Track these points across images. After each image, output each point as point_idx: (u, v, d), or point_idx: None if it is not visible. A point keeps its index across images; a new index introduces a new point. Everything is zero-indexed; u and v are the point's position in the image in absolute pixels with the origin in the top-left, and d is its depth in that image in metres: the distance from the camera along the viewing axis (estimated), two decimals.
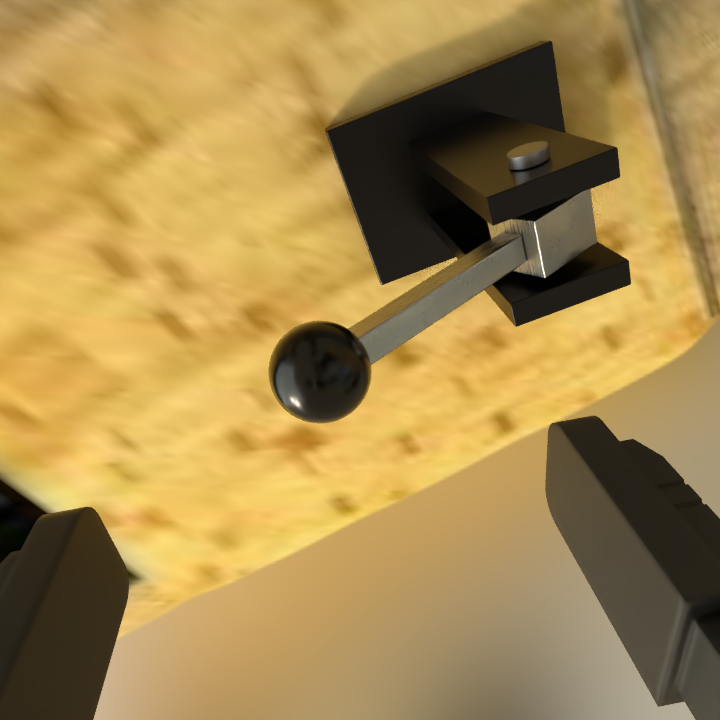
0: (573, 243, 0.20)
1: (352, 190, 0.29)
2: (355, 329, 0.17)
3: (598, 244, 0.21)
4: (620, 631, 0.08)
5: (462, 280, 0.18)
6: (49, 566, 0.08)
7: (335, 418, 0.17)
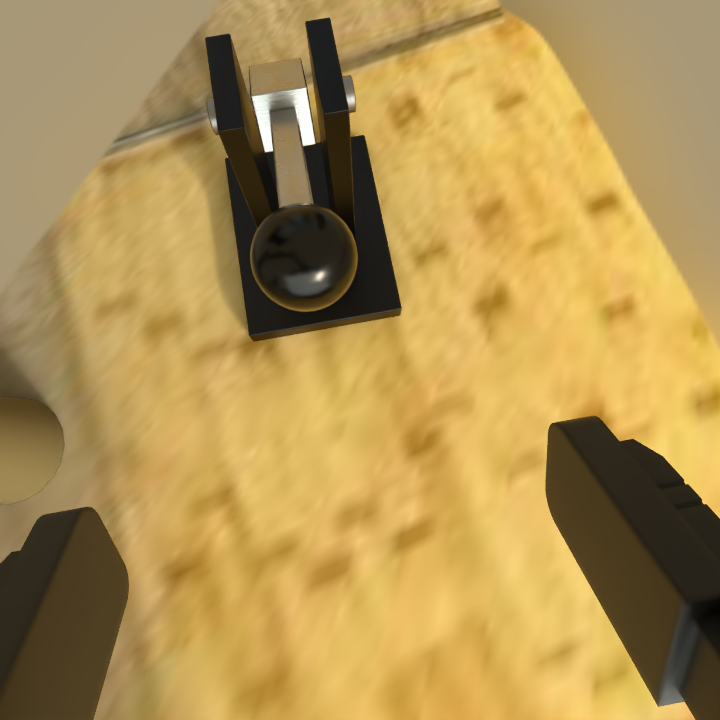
0: (288, 71, 0.22)
1: (303, 322, 0.32)
2: None
3: (310, 61, 0.24)
4: (620, 631, 0.08)
5: (279, 148, 0.20)
6: (49, 566, 0.08)
7: (334, 232, 0.15)
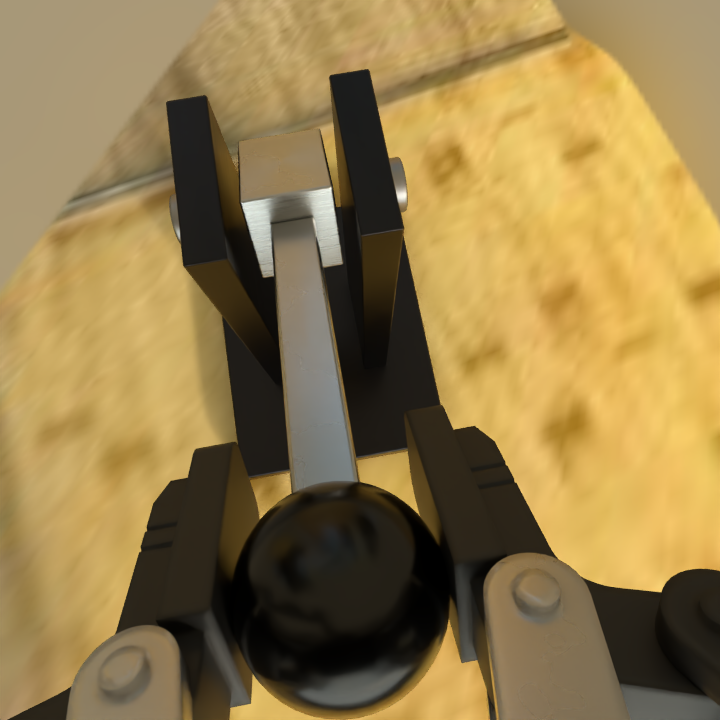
0: (301, 154, 0.14)
1: None
2: None
3: (334, 130, 0.15)
4: None
5: (287, 305, 0.11)
6: (220, 486, 0.09)
7: (413, 590, 0.07)
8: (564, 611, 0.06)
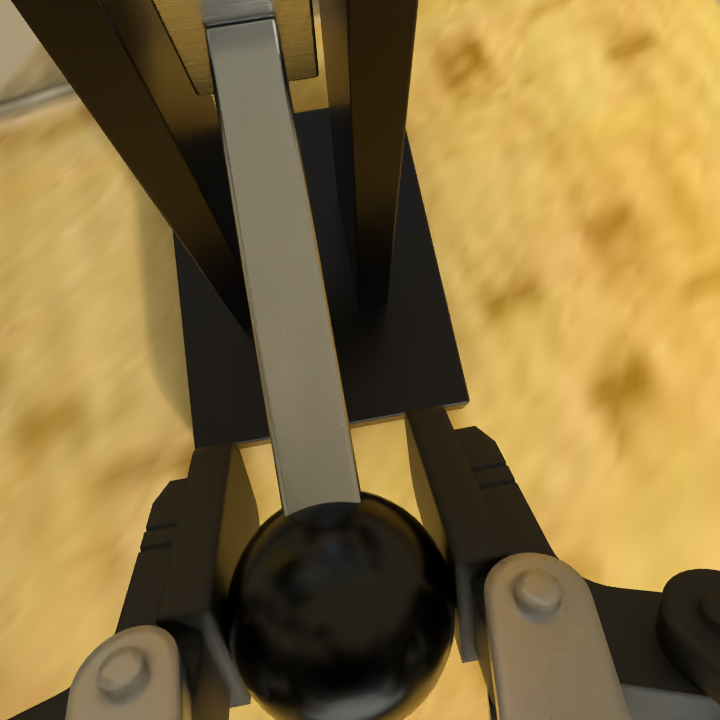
0: None
1: None
2: None
3: None
4: None
5: (250, 213, 0.08)
6: (219, 486, 0.09)
7: (427, 664, 0.07)
8: (565, 611, 0.06)
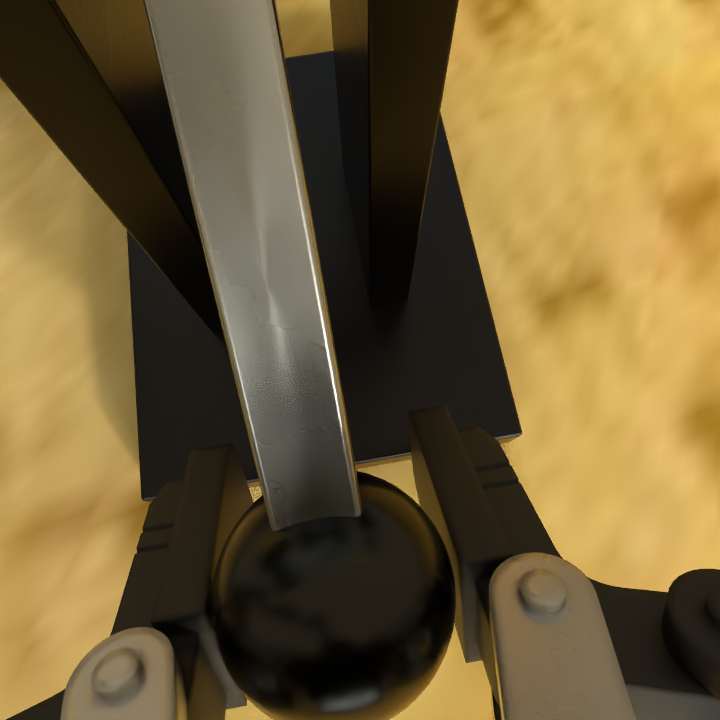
0: None
1: None
2: None
3: None
4: None
5: (202, 141, 0.05)
6: (216, 487, 0.09)
7: (428, 679, 0.06)
8: (570, 611, 0.06)
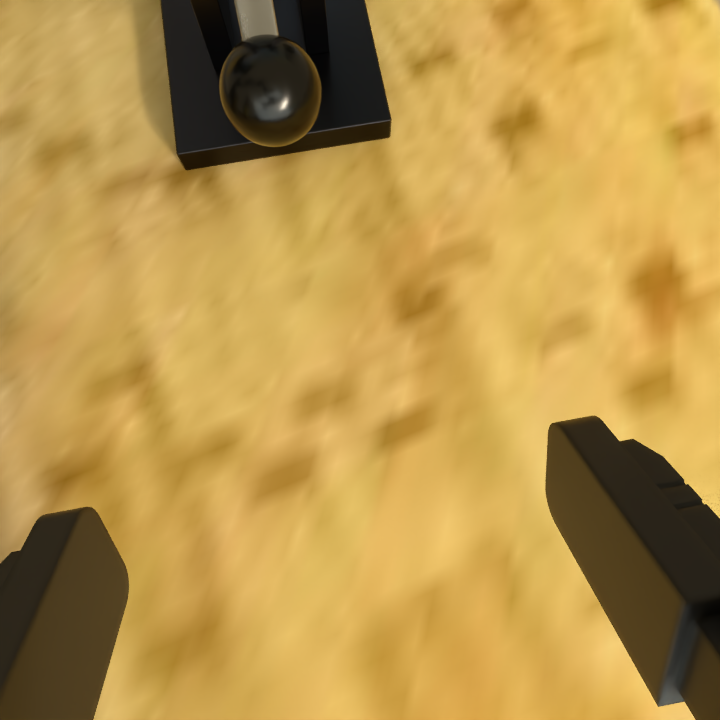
0: None
1: None
2: None
3: None
4: (620, 631, 0.08)
5: None
6: (49, 566, 0.08)
7: (305, 102, 0.16)
8: None
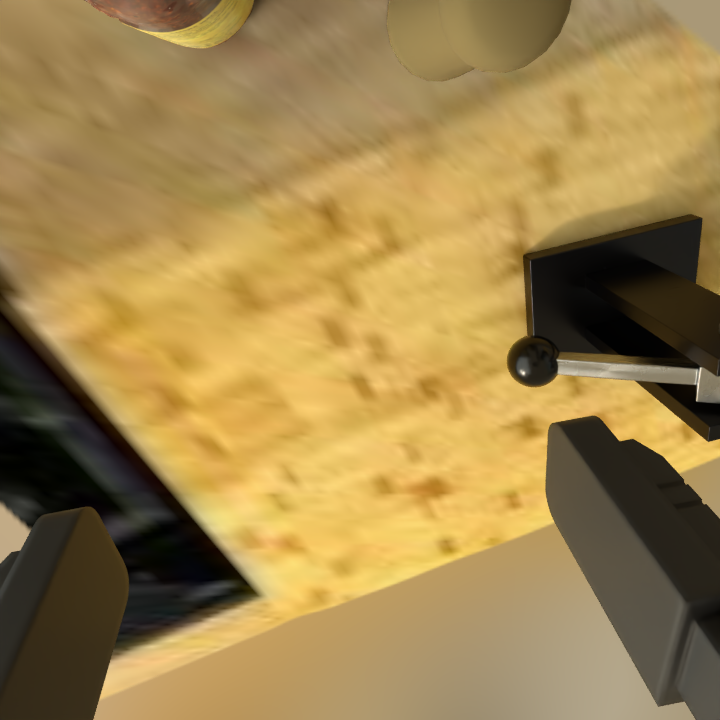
0: None
1: (535, 303, 0.38)
2: (562, 354, 0.33)
3: None
4: (620, 631, 0.08)
5: (636, 368, 0.30)
6: (49, 566, 0.08)
7: (522, 384, 0.34)
8: None
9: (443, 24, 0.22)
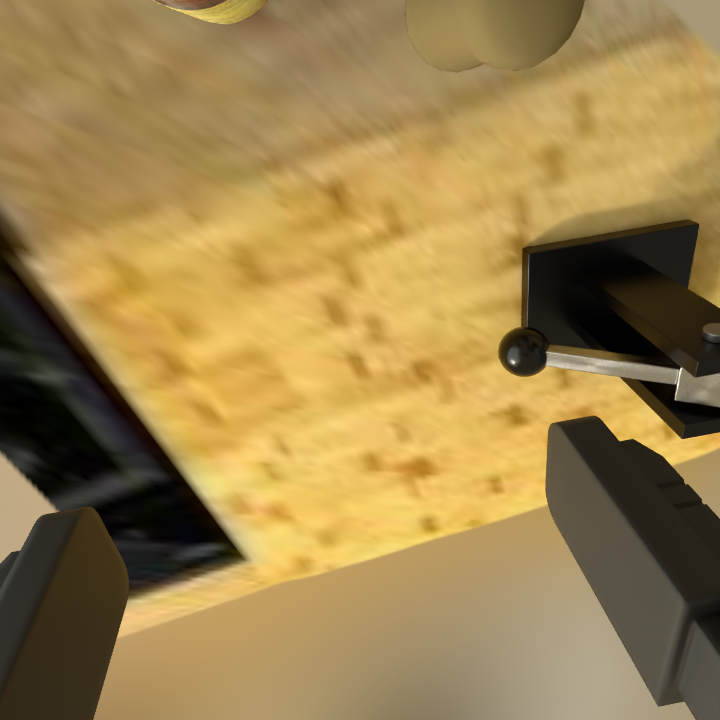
0: (709, 397, 0.29)
1: (531, 296, 0.39)
2: (552, 347, 0.34)
3: None
4: (620, 631, 0.08)
5: (621, 365, 0.32)
6: (49, 566, 0.08)
7: (511, 372, 0.35)
8: None
9: (459, 20, 0.23)
